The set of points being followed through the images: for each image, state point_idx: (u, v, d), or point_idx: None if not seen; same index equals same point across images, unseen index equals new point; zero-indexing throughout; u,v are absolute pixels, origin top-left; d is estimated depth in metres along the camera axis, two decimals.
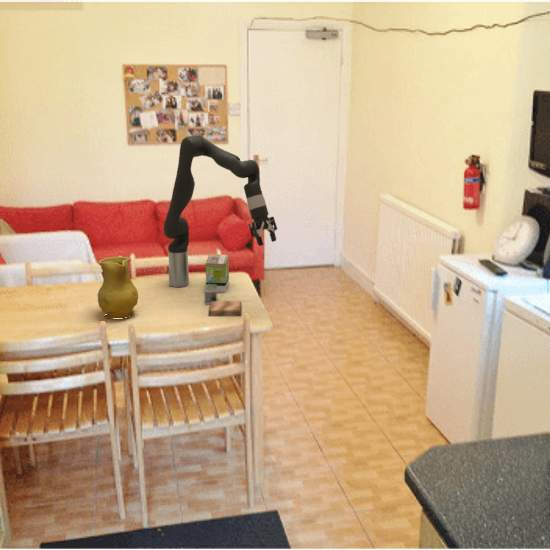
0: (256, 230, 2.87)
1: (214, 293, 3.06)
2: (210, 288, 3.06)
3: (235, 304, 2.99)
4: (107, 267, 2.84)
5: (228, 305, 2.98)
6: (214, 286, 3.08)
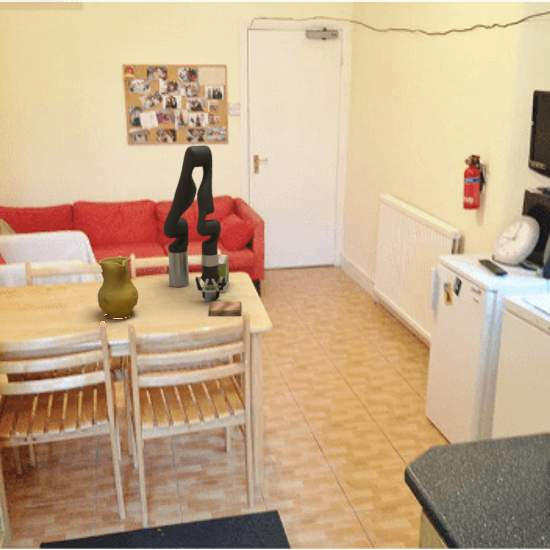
0: (204, 284, 3.08)
1: (214, 293, 3.06)
2: (210, 288, 3.06)
3: (235, 304, 2.99)
4: (107, 267, 2.84)
5: (228, 305, 2.98)
6: (214, 286, 3.08)
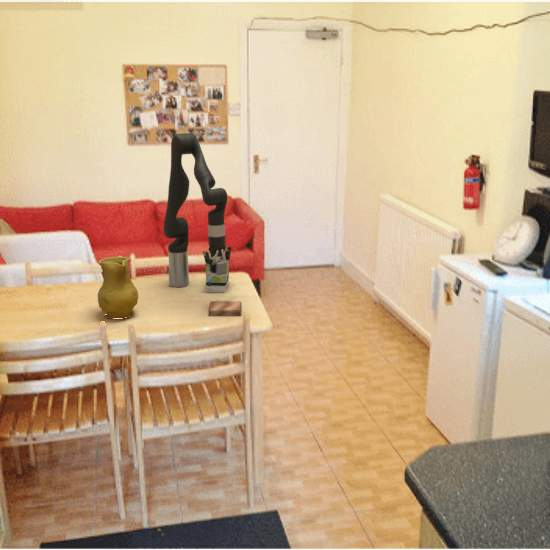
0: (210, 257, 2.97)
1: (225, 264, 2.98)
2: (219, 260, 2.98)
3: (235, 304, 2.99)
4: (107, 267, 2.84)
5: (228, 305, 2.98)
6: (220, 258, 3.00)
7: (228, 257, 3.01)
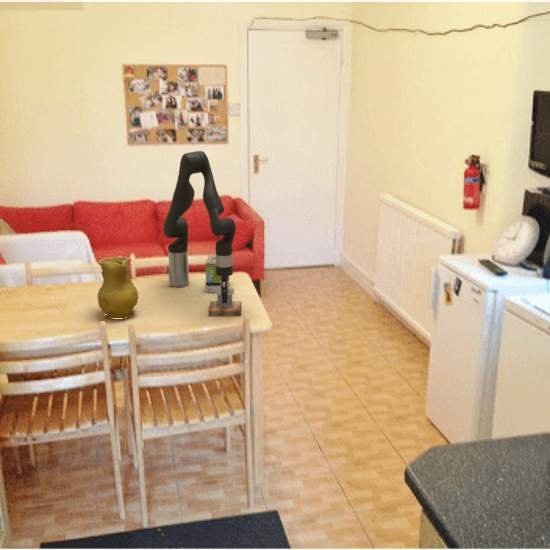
0: None
1: None
2: (228, 290, 2.96)
3: (235, 304, 2.99)
4: (107, 267, 2.84)
5: None
6: None
7: None
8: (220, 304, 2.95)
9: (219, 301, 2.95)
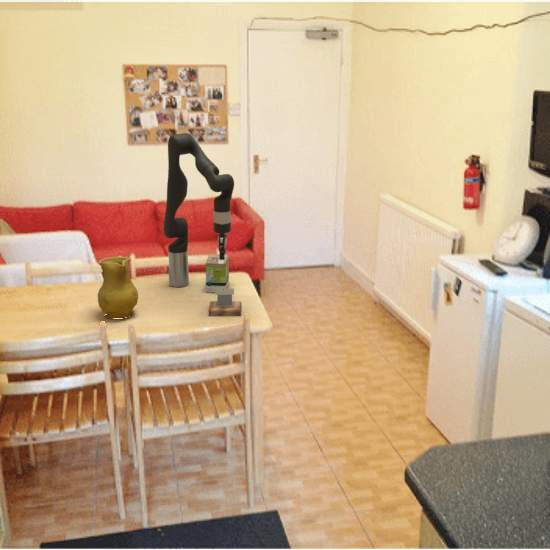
0: None
1: None
2: (228, 290, 2.96)
3: (235, 304, 2.99)
4: (107, 267, 2.84)
5: None
6: (223, 289, 2.98)
7: None
8: (220, 304, 2.95)
9: (219, 301, 2.95)
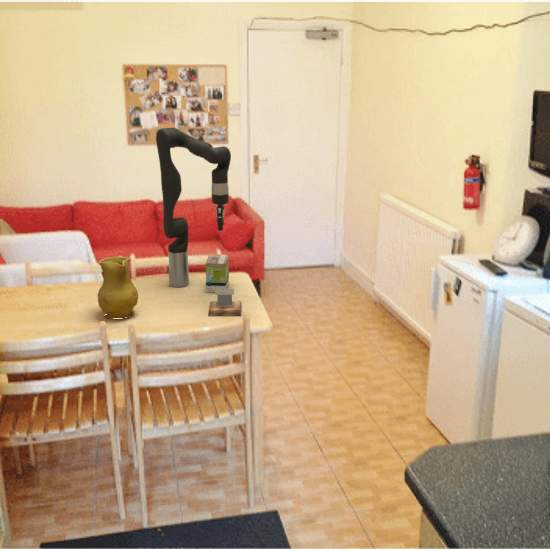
0: None
1: None
2: (228, 290, 2.96)
3: (235, 304, 2.99)
4: (107, 267, 2.84)
5: None
6: (223, 289, 2.98)
7: None
8: (220, 304, 2.95)
9: (219, 301, 2.95)
